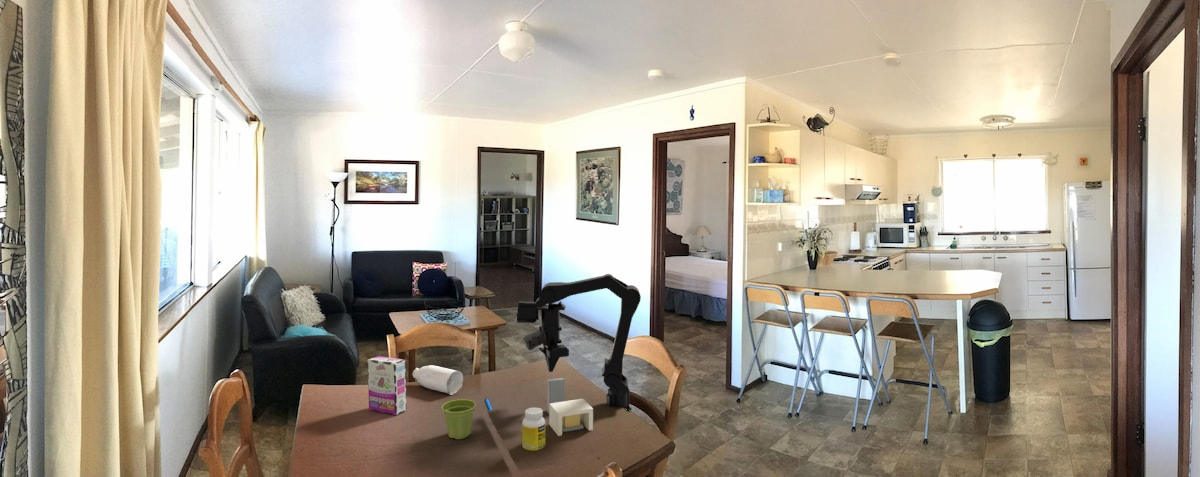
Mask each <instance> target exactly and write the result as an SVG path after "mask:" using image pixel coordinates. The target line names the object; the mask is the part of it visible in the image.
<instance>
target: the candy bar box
mask: <svg viewBox="0 0 1200 477" xmlns="http://www.w3.org/2000/svg"><path fill="white" fill-rule="evenodd" d="M406 368H407V367H406V359H402V358H395V357H390V356H389V357H387V356H382V355H376V356H374V357H372V358H369V359H367V385H368V388H367V389H368V410H369V411H371V412H377V413H382V414H386V415H393V416H398V415H400V414H402V413H404V412H406V411H407V383H406V382H407V380H406V379H407V377H406V376H407V375H406V371H407V370H406Z"/></svg>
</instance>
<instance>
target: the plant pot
mask: <svg viewBox="0 0 1200 477" xmlns="http://www.w3.org/2000/svg"><path fill="white" fill-rule="evenodd" d="M476 406H477V404H476V402H475V401H474V400H473V399H472V400H471V399H454V400H449V401H447V402H444V403H443V404H442V405H441V410H442V412H443V414H444V416H445V418H444V419H445V423H446V428H447V435H448V438H450V439H456V440H462V439H466V438H468V437H469V435H471V434H472V424H473V417H474V412H475V408H476Z"/></svg>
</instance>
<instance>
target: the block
mask: <svg viewBox="0 0 1200 477" xmlns="http://www.w3.org/2000/svg"><path fill="white" fill-rule="evenodd" d="M580 423H581V421H580V414H576V415H570V416H564V417H562V426H563V427H564V428H568V427H574V426H580Z"/></svg>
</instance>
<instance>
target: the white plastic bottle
mask: <svg viewBox="0 0 1200 477" xmlns="http://www.w3.org/2000/svg"><path fill="white" fill-rule="evenodd" d="M412 377H413V379H416V380H417V383H419V384H420V385H421V386H422V387H424V388H426V389H429V390H432V391H437V392H440V393H446V394H449V395H452V396H453V394H455V393H457V392H458V391H459V390H461V389H462V387H463V381H464V374H463V372H461V371H459V370H455V369H450V368H446V367H443V366H437V365H432V364H429V365H425V366H424V365H423V366H422V367H420V368H418V367H415V369H414V370H412Z"/></svg>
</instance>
